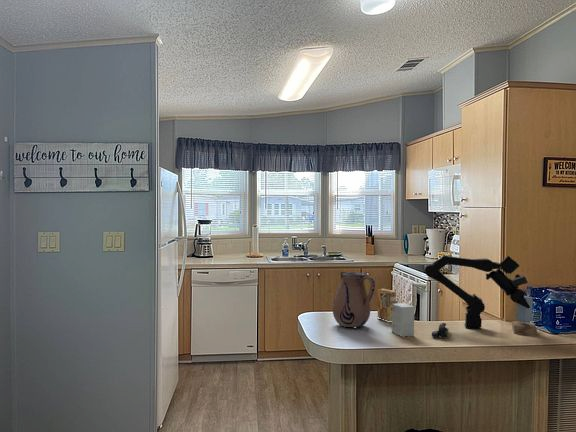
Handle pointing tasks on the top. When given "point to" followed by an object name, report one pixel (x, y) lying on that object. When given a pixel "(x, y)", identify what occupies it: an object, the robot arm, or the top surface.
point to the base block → (524, 328)
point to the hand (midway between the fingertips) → (527, 306)
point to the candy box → (386, 303)
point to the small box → (403, 319)
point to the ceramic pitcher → (352, 300)
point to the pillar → (525, 310)
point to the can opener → (441, 331)
